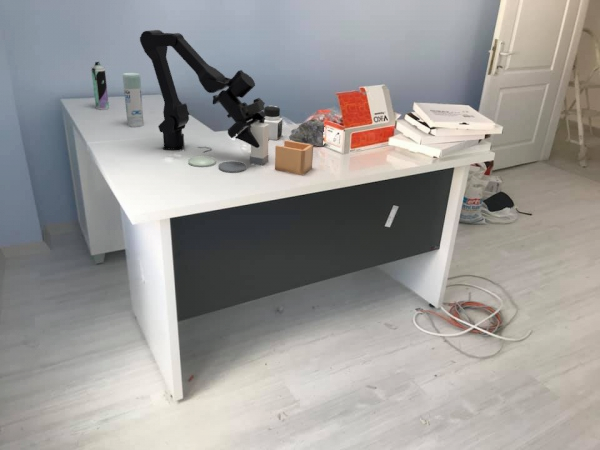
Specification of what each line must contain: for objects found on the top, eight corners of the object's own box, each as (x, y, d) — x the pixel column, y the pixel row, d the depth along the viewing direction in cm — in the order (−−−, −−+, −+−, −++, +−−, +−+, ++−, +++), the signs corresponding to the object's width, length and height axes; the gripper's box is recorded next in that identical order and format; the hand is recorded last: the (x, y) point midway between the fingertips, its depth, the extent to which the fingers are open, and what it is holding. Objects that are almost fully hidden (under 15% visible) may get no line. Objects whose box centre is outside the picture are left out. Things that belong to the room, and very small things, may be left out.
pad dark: (218, 172, 157) (218, 170, 157) (218, 163, 165) (218, 160, 165) (246, 172, 159) (246, 170, 158) (246, 163, 167) (246, 161, 166)
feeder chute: (311, 168, 166) (313, 144, 163) (302, 175, 160) (304, 151, 156) (284, 162, 170) (285, 140, 166) (274, 169, 163) (275, 146, 159)
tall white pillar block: (250, 163, 167) (250, 125, 162) (256, 159, 171) (256, 122, 166) (262, 165, 166) (263, 127, 160) (268, 161, 170) (269, 124, 164)
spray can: (106, 110, 221) (101, 63, 212) (94, 109, 221) (88, 62, 212) (110, 107, 226) (105, 61, 217) (98, 106, 226) (93, 60, 217)
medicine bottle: (277, 140, 193) (278, 109, 188) (259, 138, 194) (260, 107, 189) (281, 135, 200) (283, 105, 194) (264, 133, 201) (265, 104, 195)
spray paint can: (146, 126, 201) (142, 75, 192) (130, 127, 197) (125, 75, 189) (141, 122, 206) (136, 72, 197) (125, 123, 202) (120, 73, 193)
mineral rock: (287, 143, 191) (288, 117, 187) (303, 137, 199) (305, 112, 195) (314, 150, 185) (316, 123, 180) (330, 144, 193) (332, 118, 188)
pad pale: (187, 166, 161) (187, 164, 160) (189, 157, 169) (189, 155, 168) (215, 167, 162) (215, 164, 161) (216, 158, 170) (216, 156, 169)
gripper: (236, 95, 152) (268, 136, 153) (261, 86, 168) (290, 123, 169) (213, 118, 157) (245, 157, 159) (240, 106, 173) (268, 142, 175)
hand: (263, 144), depth 165 cm, fingers open, 8 cm apart
